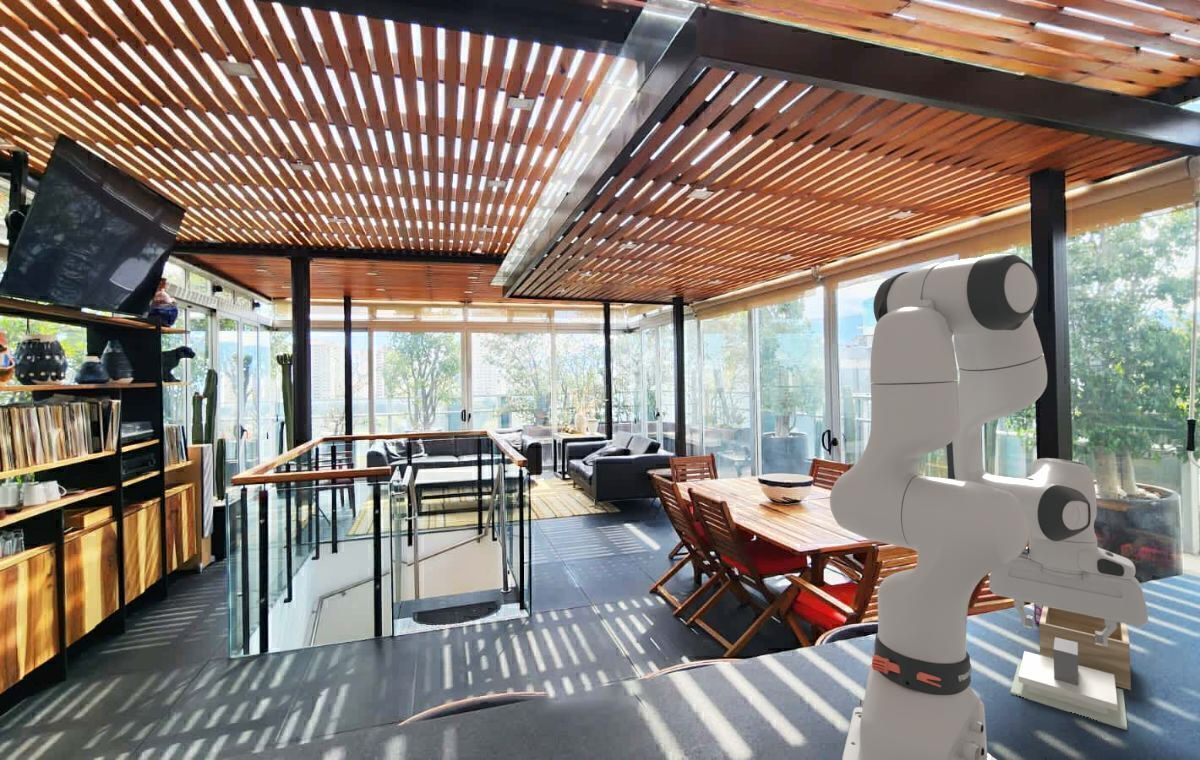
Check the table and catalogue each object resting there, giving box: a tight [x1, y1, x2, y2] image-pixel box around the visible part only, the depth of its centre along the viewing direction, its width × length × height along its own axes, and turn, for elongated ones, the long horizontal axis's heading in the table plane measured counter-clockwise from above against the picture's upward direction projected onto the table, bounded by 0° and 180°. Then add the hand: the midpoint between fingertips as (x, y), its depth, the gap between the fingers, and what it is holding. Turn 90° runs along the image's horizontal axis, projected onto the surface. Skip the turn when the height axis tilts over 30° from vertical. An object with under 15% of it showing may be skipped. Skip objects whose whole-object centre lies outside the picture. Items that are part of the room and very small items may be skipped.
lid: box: [1019, 637, 1118, 715], centre depth 89 cm, size 12×12×8 cm
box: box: [1038, 606, 1132, 691], centre depth 99 cm, size 12×12×8 cm
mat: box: [1010, 660, 1128, 731], centre depth 89 cm, size 14×14×1 cm
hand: (1063, 635), depth 89 cm, fingers open, 8 cm apart
